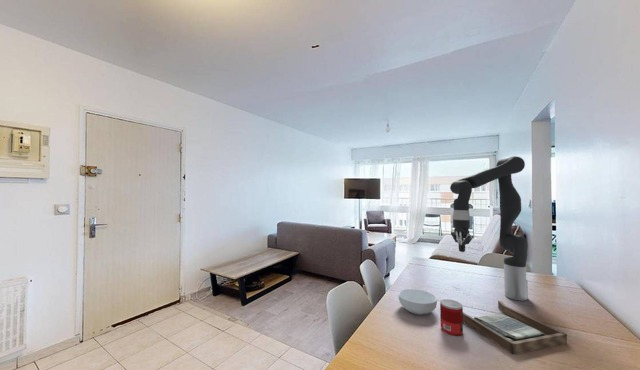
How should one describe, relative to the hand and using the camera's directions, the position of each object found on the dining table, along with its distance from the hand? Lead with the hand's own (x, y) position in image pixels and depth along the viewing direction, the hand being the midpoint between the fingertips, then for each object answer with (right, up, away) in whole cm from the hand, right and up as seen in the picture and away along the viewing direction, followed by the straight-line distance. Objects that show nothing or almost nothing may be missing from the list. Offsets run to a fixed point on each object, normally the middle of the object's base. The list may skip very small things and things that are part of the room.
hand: (461, 251), depth 126 cm
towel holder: (+2, -24, -26) cm, 36 cm away
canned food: (-21, -24, -28) cm, 43 cm away
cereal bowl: (-28, -25, -12) cm, 39 cm away
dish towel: (+2, -25, -27) cm, 37 cm away
